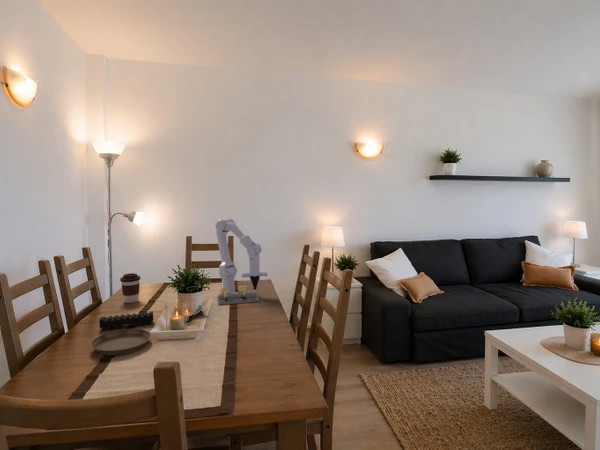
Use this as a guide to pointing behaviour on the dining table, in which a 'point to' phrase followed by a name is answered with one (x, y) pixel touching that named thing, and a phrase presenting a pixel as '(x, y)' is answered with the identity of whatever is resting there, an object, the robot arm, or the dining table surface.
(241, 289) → the sliding leg
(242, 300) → the bolt plate
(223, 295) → the beam with fixed leg
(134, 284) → the coffee cup
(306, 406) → the dining table surface
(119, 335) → the plant saucer
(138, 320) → the rail mount
